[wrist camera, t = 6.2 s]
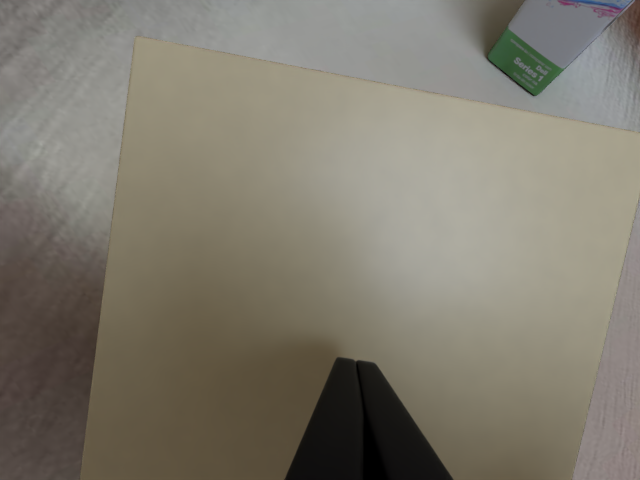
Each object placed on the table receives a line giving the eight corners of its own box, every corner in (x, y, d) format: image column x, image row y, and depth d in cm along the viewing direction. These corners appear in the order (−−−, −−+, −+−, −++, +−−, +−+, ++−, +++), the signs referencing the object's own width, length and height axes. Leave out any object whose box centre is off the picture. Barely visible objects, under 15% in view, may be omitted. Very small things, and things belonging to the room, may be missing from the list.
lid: (148, 49, 9) (133, 33, 8) (627, 140, 9) (657, 134, 9) (94, 478, 10) (75, 502, 9) (535, 534, 10) (554, 560, 9)
